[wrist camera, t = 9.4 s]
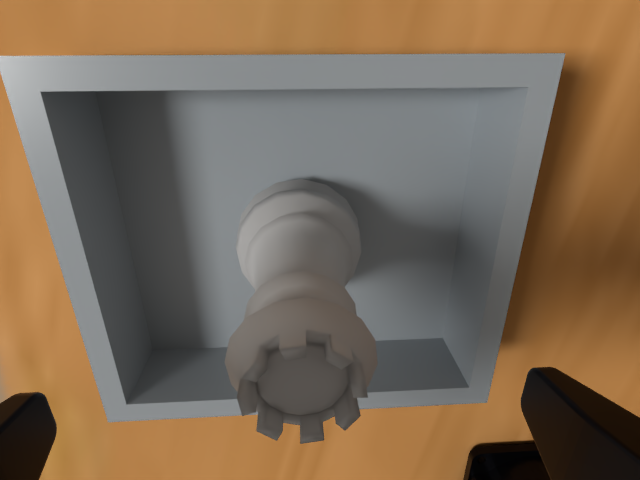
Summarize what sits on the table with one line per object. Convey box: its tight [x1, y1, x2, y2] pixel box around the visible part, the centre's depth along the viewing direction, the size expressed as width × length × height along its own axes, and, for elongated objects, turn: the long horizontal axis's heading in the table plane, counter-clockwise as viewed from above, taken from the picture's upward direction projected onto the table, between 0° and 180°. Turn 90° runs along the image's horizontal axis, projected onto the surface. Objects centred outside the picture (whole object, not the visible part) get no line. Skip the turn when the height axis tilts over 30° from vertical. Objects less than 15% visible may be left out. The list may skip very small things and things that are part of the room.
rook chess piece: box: [225, 179, 378, 444], centre depth 11 cm, size 4×4×8 cm
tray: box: [0, 53, 565, 422], centre depth 14 cm, size 14×12×4 cm
